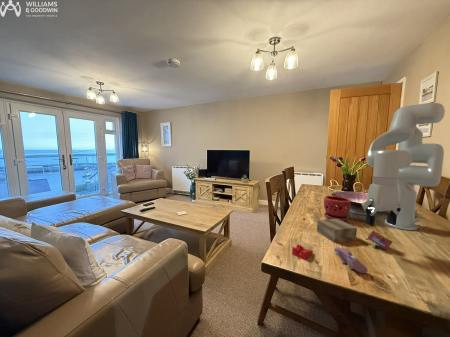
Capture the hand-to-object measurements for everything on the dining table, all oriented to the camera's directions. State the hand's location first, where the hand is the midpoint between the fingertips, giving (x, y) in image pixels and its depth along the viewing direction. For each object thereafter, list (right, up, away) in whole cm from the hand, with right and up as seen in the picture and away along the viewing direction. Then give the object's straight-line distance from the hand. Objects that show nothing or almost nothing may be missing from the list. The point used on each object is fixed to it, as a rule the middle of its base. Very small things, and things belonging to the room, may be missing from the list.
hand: (380, 224), depth 75 cm
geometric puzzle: (+1, -10, +1) cm, 10 cm away
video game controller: (-19, -11, -10) cm, 25 cm away
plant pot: (+2, -7, +34) cm, 35 cm away
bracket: (-32, -11, -3) cm, 34 cm away
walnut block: (-11, -9, +12) cm, 19 cm away
